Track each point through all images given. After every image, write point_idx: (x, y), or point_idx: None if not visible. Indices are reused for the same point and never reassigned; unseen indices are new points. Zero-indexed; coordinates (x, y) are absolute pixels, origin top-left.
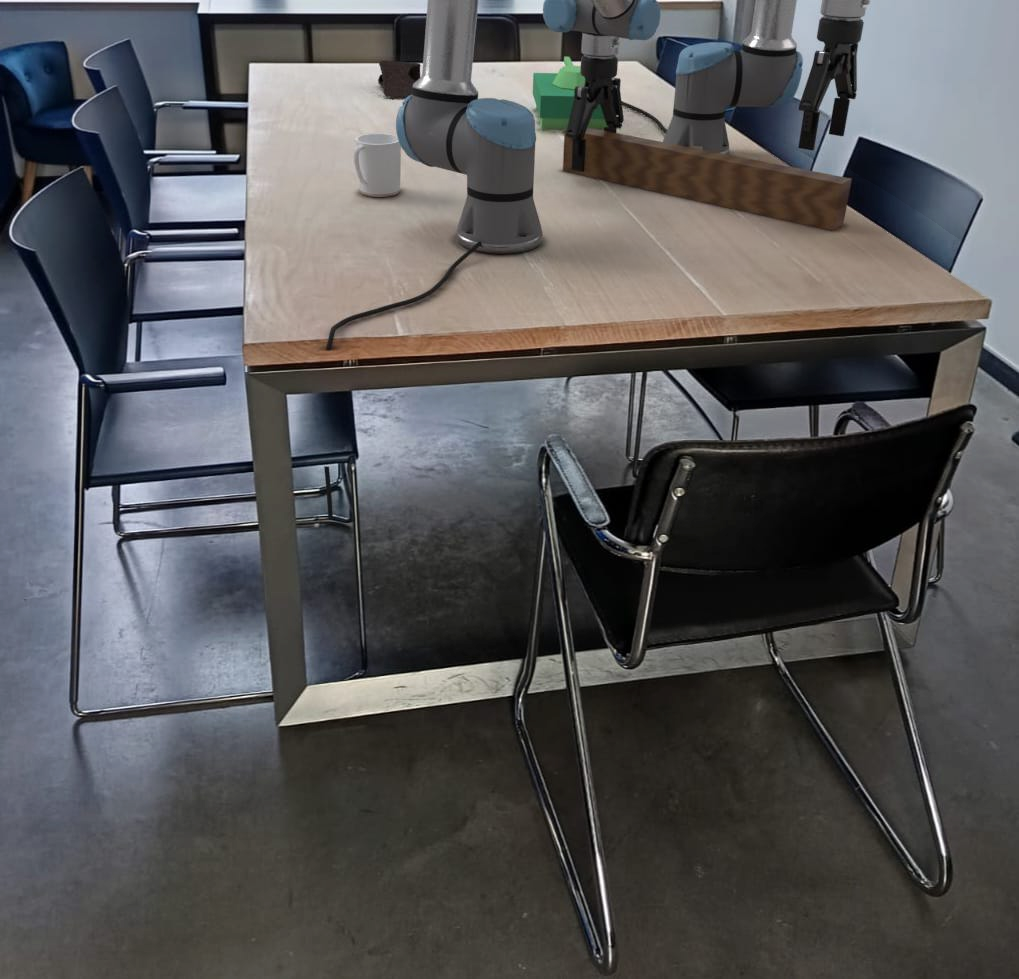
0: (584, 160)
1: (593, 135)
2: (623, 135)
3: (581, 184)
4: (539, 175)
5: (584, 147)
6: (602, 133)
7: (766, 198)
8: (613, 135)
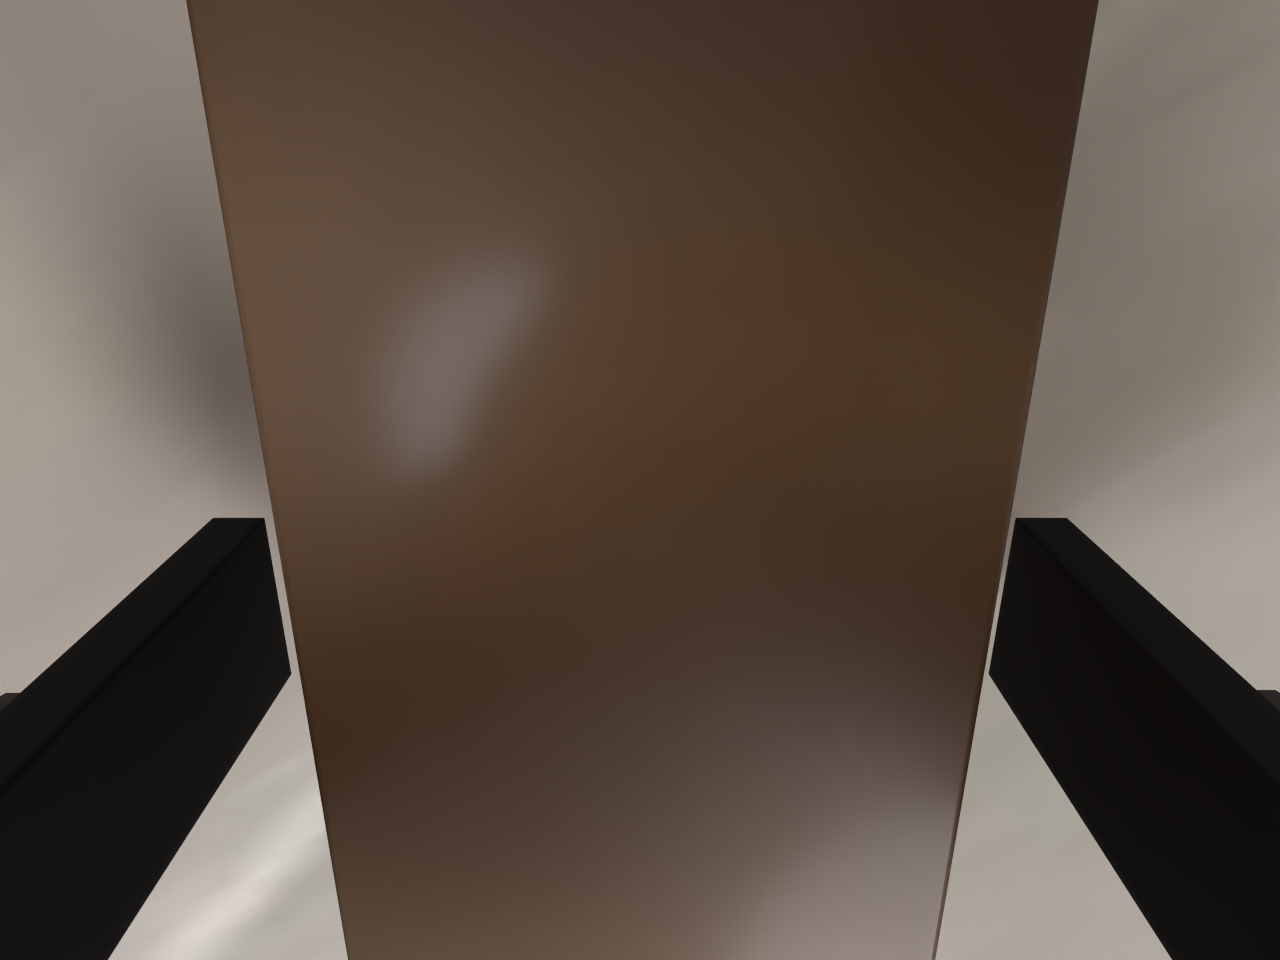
0: (1099, 590)
1: (940, 900)
2: (379, 239)
3: (1126, 404)
4: (1037, 891)
5: (1266, 730)
6: (649, 835)
7: None
8: (624, 505)
